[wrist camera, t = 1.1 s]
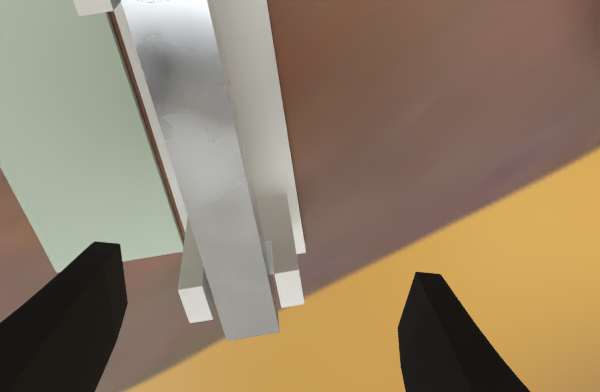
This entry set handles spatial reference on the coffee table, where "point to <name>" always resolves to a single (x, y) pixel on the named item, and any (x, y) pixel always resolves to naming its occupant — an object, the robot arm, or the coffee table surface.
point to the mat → (77, 136)
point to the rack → (257, 141)
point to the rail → (207, 155)
